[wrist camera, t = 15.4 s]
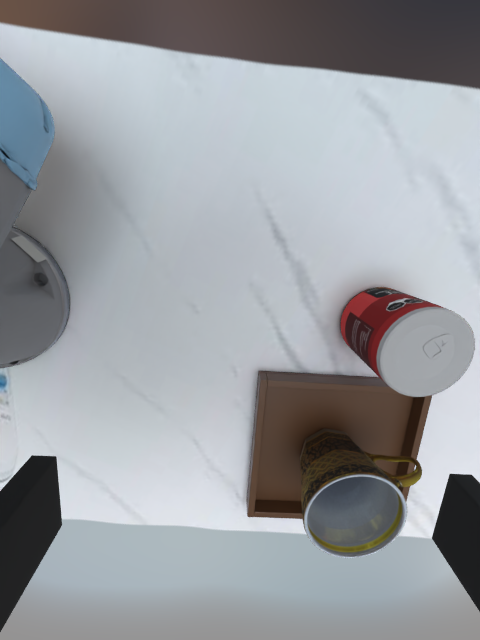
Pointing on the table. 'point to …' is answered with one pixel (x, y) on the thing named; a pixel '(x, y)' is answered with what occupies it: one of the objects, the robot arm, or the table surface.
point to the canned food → (408, 340)
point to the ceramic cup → (350, 496)
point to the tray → (330, 413)
